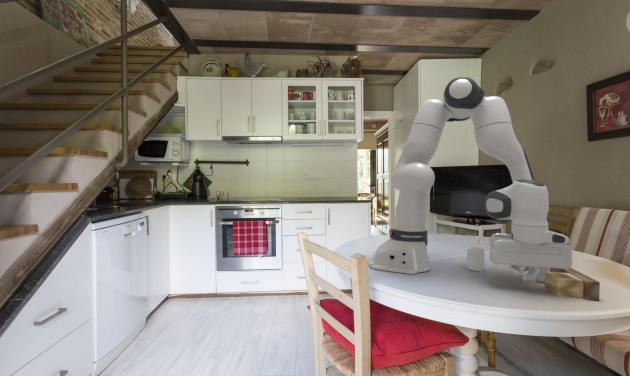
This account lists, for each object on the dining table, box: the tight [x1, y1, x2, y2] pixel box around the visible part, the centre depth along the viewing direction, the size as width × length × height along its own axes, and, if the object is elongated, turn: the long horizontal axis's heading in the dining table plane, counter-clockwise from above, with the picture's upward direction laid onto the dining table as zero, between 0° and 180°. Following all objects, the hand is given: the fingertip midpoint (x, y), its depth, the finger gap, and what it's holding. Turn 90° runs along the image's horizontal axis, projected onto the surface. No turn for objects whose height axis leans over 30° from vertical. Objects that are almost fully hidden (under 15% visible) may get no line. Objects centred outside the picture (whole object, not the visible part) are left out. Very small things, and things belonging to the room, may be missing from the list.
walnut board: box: [549, 267, 601, 302], centre depth 89 cm, size 3×20×5 cm, turn 164°
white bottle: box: [466, 236, 485, 272], centre depth 108 cm, size 6×12×6 cm
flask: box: [526, 266, 550, 284], centre depth 96 cm, size 7×7×10 cm
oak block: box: [544, 272, 584, 299], centre depth 85 cm, size 6×7×5 cm
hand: (528, 280), depth 87 cm, fingers closed
